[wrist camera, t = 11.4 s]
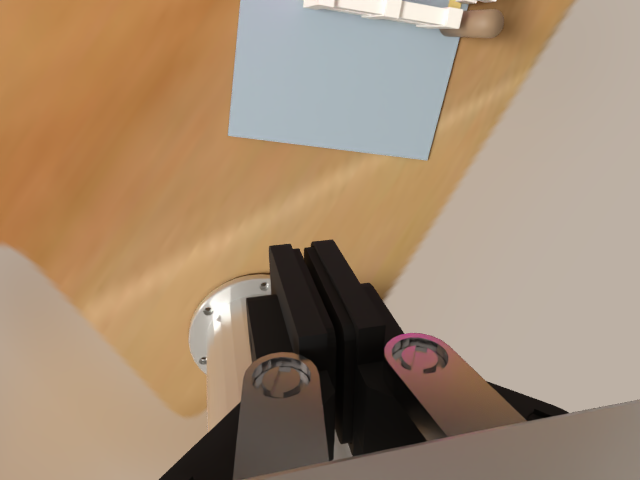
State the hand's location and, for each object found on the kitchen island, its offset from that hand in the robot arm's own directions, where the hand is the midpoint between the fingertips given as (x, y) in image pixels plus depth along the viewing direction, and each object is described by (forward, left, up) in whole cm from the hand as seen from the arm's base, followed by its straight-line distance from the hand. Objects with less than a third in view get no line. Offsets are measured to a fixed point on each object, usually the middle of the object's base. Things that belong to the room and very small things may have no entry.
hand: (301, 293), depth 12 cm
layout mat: (+7, -8, -27) cm, 29 cm away
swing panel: (+9, -9, -26) cm, 29 cm away
